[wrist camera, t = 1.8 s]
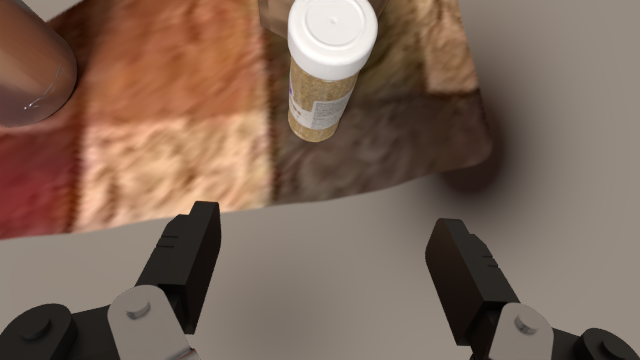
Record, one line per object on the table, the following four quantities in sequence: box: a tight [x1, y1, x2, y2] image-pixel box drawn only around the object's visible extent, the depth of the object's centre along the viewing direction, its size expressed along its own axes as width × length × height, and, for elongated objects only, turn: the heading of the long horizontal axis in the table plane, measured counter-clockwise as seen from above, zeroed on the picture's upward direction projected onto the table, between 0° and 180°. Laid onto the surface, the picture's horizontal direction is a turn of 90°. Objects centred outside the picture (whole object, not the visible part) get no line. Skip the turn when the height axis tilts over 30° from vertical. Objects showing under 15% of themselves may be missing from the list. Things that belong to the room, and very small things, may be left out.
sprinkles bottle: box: [288, 0, 378, 142], centre depth 23 cm, size 5×5×13 cm
